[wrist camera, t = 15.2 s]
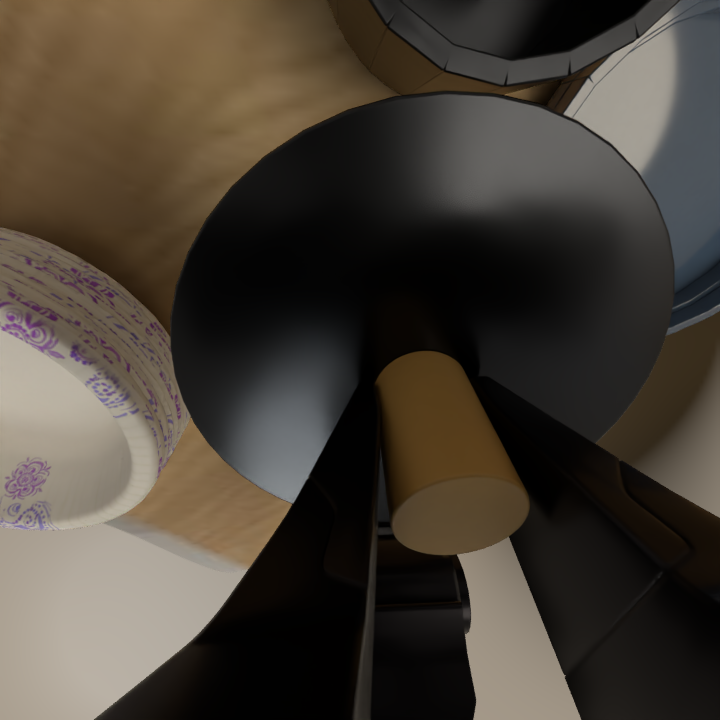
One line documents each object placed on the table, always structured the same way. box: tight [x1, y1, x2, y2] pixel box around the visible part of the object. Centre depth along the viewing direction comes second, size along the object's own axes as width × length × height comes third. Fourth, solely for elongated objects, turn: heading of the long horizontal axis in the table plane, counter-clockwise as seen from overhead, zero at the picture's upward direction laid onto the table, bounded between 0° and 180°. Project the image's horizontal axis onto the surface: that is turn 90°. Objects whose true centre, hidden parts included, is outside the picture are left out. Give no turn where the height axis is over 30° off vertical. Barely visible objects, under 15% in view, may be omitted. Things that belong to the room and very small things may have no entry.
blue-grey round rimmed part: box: [546, 0, 720, 335], centre depth 17 cm, size 15×15×2 cm
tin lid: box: [170, 90, 675, 555], centre depth 8 cm, size 12×12×5 cm
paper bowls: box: [0, 227, 190, 530], centre depth 17 cm, size 15×15×8 cm
